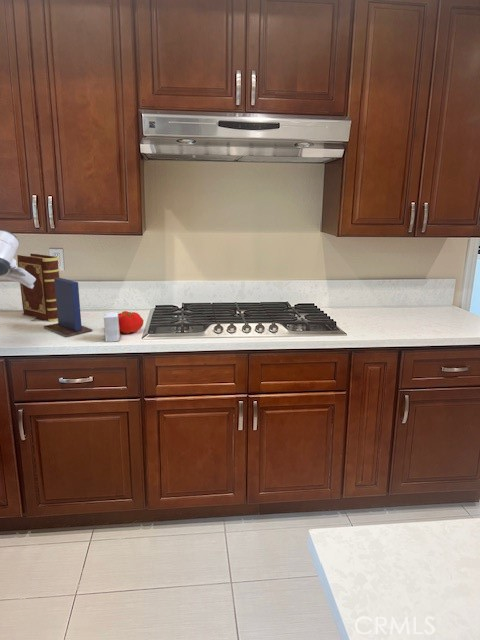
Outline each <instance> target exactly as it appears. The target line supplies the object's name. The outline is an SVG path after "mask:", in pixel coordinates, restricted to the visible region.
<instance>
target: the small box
mask: <svg viewBox="0 0 480 640" xmlns="http://www.w3.org/2000/svg"><path fill="white" fill-rule="evenodd" d="M103 325H104V327H103V328H104V338H105V339H104V341H105V342H106V343H109V342H120V338H121V334H120V333H121V331H119V312H105V313H104V316H103Z"/></svg>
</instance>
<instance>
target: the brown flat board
mask: <svg viewBox="0 0 480 640" xmlns="http://www.w3.org/2000/svg"><path fill="white" fill-rule="evenodd" d="M81 326H82V330H78V331H74V330H72V329H69V328H66V327H64V326H61V325H58V322H57V323H53V324H48V325H43V328H44V329H46V330H48V331H50V332H52V333H55V334H58V335H60V336H63V337H65V338H70V337H74V336H79V335H82V334H87V333H92V332H93V329H92V328H89V327H87V326H84V325H81Z"/></svg>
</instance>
